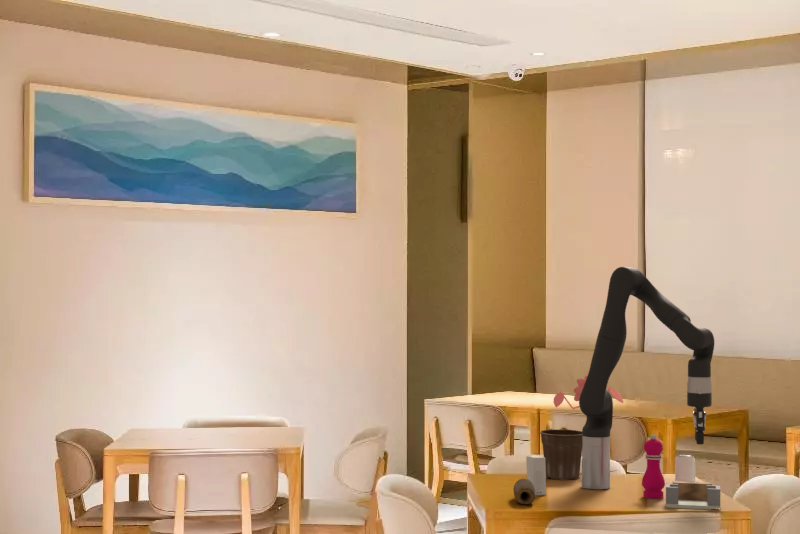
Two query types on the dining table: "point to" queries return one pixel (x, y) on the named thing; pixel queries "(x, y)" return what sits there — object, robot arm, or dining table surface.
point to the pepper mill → (653, 469)
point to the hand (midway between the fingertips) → (699, 442)
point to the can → (685, 468)
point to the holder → (711, 502)
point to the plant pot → (562, 453)
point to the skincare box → (537, 473)
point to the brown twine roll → (524, 491)
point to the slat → (692, 490)
